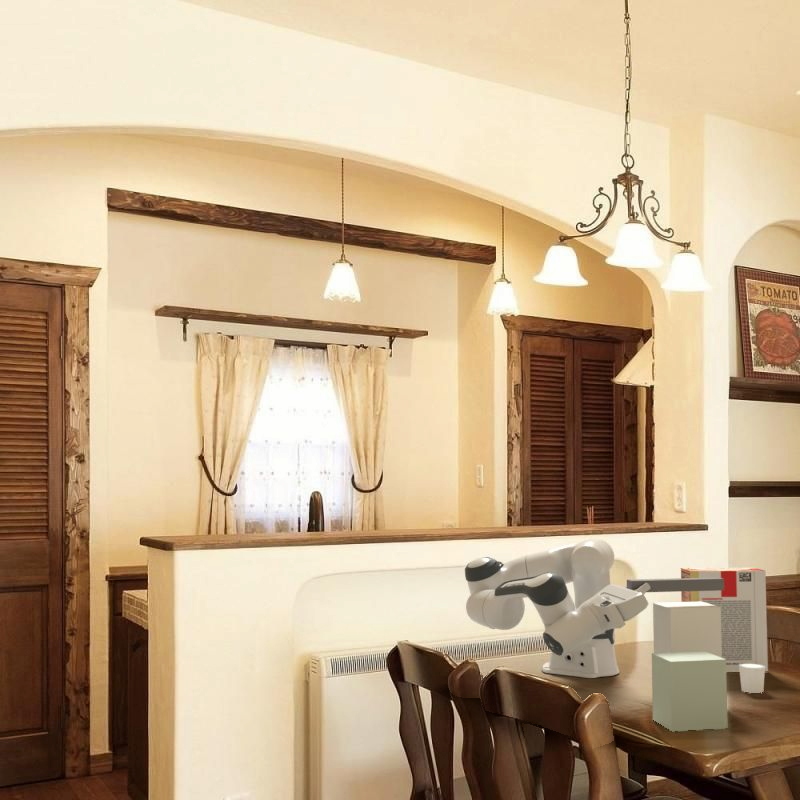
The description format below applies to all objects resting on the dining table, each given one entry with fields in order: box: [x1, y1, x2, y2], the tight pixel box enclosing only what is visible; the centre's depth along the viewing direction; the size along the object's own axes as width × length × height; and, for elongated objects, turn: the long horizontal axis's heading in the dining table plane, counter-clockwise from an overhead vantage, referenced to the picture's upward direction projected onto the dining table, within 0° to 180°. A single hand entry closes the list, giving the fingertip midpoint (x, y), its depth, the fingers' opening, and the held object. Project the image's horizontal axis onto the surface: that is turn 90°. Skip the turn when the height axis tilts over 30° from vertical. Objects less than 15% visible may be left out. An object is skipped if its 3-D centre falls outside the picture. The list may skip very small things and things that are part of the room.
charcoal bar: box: [626, 577, 724, 593], centre depth 251 cm, size 26×3×3 cm, turn 101°
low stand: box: [651, 651, 728, 733], centre depth 228 cm, size 14×10×16 cm
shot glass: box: [739, 663, 766, 694], centre depth 261 cm, size 7×7×7 cm
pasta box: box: [680, 567, 769, 672], centre depth 289 cm, size 23×8×30 cm, turn 93°
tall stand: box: [652, 601, 722, 658], centre depth 250 cm, size 14×10×25 cm
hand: (644, 584), depth 249 cm, fingers closed on charcoal bar, 3 cm apart
